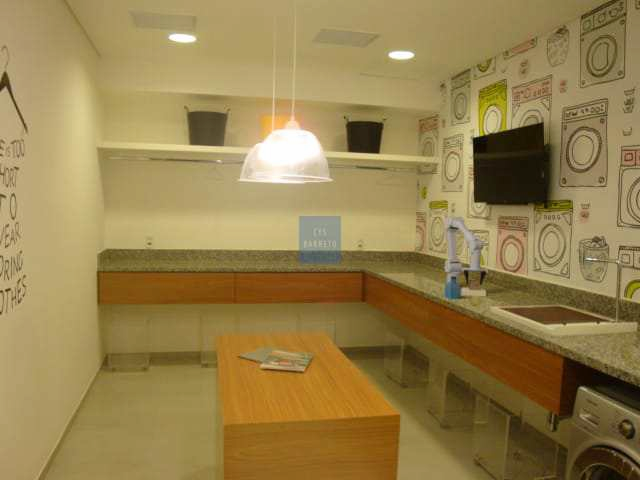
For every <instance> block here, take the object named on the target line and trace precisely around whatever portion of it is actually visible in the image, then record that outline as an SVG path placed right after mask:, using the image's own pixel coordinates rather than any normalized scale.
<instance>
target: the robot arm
mask: <svg viewBox="0 0 640 480" xmlns="http://www.w3.org/2000/svg"><path fill="white" fill-rule="evenodd" d="M444 224H445V225H444V226H445V232H446V241H447V242H446V245H447V253H448V258H447V259H445V260H444V272H446V284H444V286H446V285H447V283H448V282H451V281H450V279H451V276H456V279H457V281H456V283H459V281H460V274H461V273H462V272H463V274H464V277H465V282H466V283H465V284H466V285H469V276H470V275H469V274H470V273H469V272H472V273H475V272H476V273H480V274H479V275H480V276H479V277H480V279H479V286H481V285H483V282H484V281H483V280H484V278H485V277H486V276H487V273H489V269H488V268H482V267H481V256H482V255H481V254H482V250H483V249H484V241H483V240H481V239H478V238H477V236H476V235H475V233H474V232H473V231H469V228H468V227H467V226H466V223H465V219H464V217H463V216H447V217H446V218H445V220H444ZM457 231H460V232H461V233H462V234H463V238H464V239H465V241H466V243H468V249H469V254H470V256H469V258H470V259H469V267H464V266H463V264H462V260H461V259H460V258H459V257H458V252H457V250H458V249H457V248H458V247H457V238H456V237H457V236H456V232H457ZM459 284H460V283H459Z"/></svg>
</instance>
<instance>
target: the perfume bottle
mask: <svg viewBox="0 0 640 480" xmlns="http://www.w3.org/2000/svg"><path fill="white" fill-rule="evenodd" d="M450 281H451V282H448V283H447V282H446V284H445V285H446V286H445V285H444V286H445V287H444V298H446V299H448V300H461V298H462V297H461V295H462V287H461V285H460V283H456V281H457V279H456V276H451V279H450Z"/></svg>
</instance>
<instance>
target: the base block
mask: <svg viewBox="0 0 640 480" xmlns="http://www.w3.org/2000/svg"><path fill="white" fill-rule="evenodd" d="M461 293H462V294H463V295H464V296H475V297H477V296H478V297H487V291H486V290H485V289H484V288H481V287H479V290H470V289H469V287H464V286H463V287H461Z"/></svg>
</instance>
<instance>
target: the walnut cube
mask: <svg viewBox="0 0 640 480" xmlns="http://www.w3.org/2000/svg"><path fill="white" fill-rule="evenodd" d="M468 288H469V289H470V290H479V288H480V280H471V279H470V280H469V279H468Z"/></svg>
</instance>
